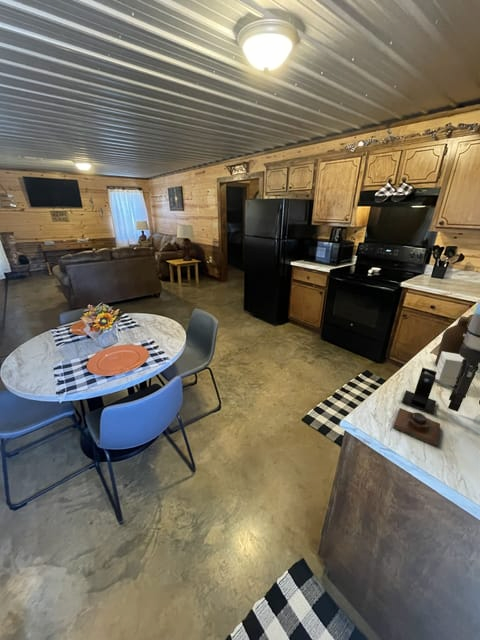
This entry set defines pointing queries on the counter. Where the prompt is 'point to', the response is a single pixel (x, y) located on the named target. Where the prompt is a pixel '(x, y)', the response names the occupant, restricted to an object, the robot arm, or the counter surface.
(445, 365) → the white packaging box
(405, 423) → the button block
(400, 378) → the counter surface
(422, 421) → the button
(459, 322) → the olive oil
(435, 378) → the switch
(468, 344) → the robot arm
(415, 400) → the switch bracket
